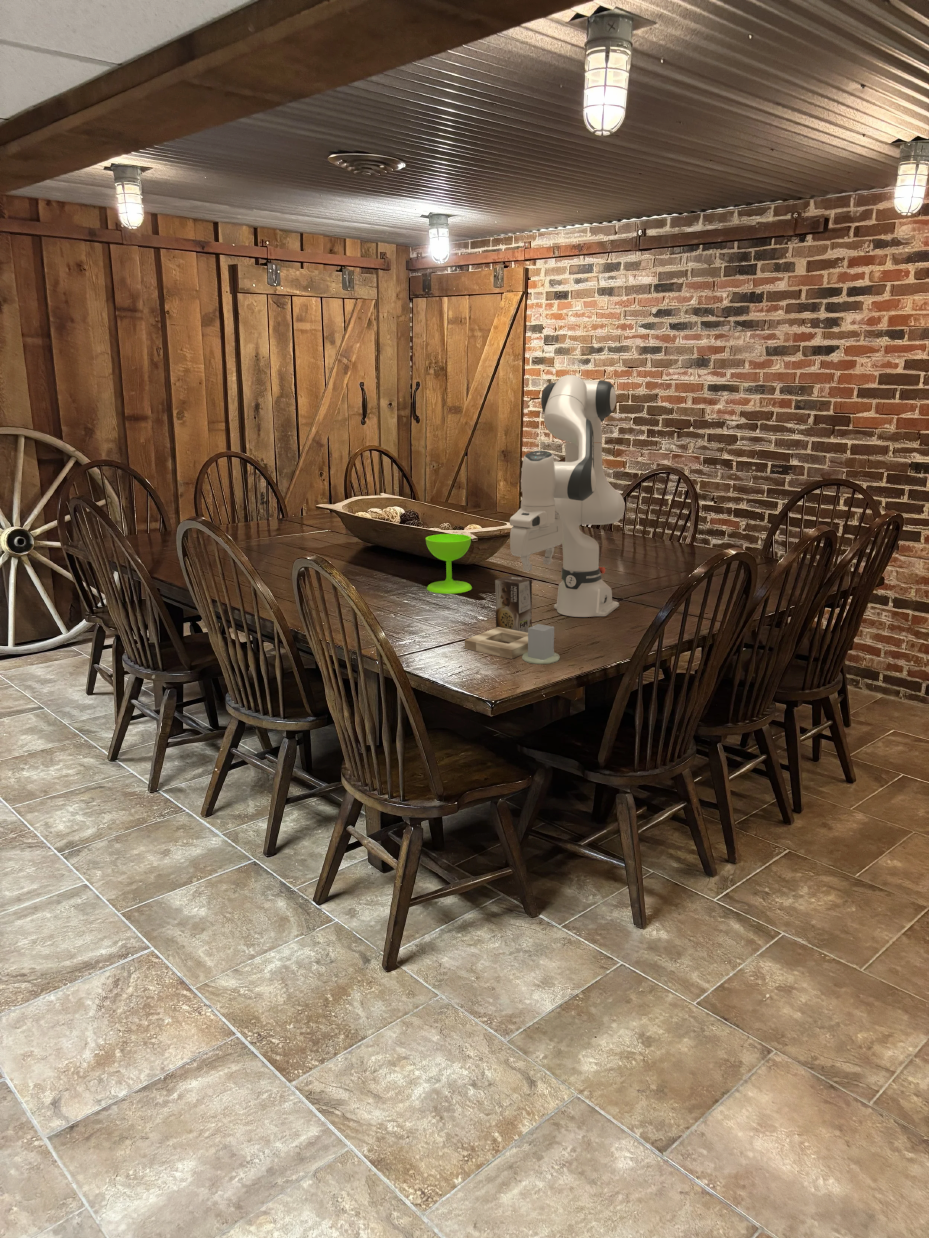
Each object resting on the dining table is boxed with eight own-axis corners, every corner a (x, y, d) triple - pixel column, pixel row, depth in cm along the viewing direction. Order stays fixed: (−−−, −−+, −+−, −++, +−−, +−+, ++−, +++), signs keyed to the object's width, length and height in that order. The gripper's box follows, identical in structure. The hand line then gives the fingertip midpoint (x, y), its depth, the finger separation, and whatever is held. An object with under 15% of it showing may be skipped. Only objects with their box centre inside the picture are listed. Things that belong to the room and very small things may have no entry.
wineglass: (466, 594, 314) (466, 542, 309) (421, 592, 317) (420, 541, 312) (475, 583, 329) (475, 534, 324) (432, 582, 332) (431, 533, 328)
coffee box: (532, 632, 269) (533, 579, 264) (518, 637, 264) (519, 583, 260) (508, 627, 275) (508, 574, 270) (494, 632, 270) (494, 578, 266)
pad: (535, 650, 252) (535, 648, 252) (566, 657, 246) (566, 654, 246) (514, 659, 245) (514, 657, 244) (546, 666, 239) (546, 664, 238)
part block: (538, 652, 249) (538, 623, 247) (553, 655, 246) (554, 626, 244) (527, 656, 245) (528, 628, 243) (543, 660, 242) (543, 631, 240)
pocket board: (498, 635, 267) (498, 626, 266) (544, 644, 257) (544, 636, 257) (464, 648, 255) (464, 639, 254) (511, 658, 245) (511, 650, 244)
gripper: (549, 508, 246) (548, 558, 250) (505, 519, 231) (505, 573, 235) (569, 510, 243) (568, 561, 247) (526, 522, 227) (526, 576, 231)
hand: (537, 567), depth 241 cm, fingers open, 8 cm apart
